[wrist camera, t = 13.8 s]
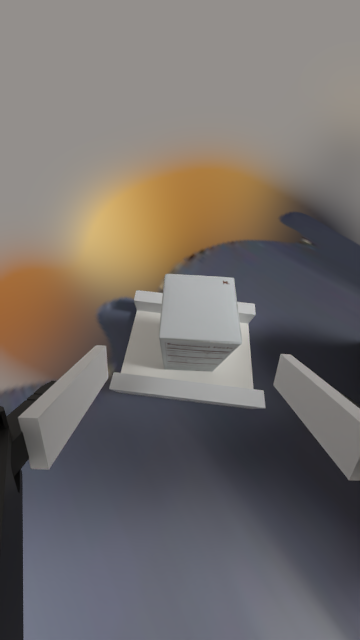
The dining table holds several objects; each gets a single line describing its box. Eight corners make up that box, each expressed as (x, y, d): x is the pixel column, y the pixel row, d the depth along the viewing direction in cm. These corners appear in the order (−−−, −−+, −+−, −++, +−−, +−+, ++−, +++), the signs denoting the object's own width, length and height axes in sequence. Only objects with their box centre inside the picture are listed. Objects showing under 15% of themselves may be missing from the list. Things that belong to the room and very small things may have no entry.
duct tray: (245, 316, 32) (254, 303, 28) (251, 408, 25) (265, 408, 21) (140, 303, 32) (136, 290, 29) (117, 392, 25) (108, 388, 22)
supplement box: (166, 325, 29) (164, 270, 18) (211, 328, 29) (236, 275, 18) (162, 370, 26) (156, 337, 15) (213, 373, 26) (245, 343, 15)
